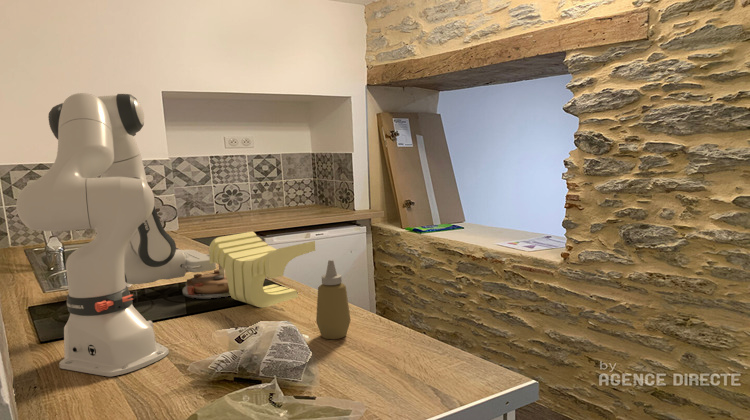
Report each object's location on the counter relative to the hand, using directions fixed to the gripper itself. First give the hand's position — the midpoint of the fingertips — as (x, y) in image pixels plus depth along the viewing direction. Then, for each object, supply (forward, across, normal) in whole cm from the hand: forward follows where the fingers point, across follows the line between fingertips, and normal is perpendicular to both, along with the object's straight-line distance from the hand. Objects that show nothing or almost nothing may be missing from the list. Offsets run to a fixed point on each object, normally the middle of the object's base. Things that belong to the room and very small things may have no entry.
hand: (218, 256), depth 169 cm
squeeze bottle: (+1, -65, +9) cm, 66 cm away
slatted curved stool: (+2, -27, +9) cm, 29 cm away
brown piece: (-3, -6, +8) cm, 10 cm away
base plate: (-3, -6, +9) cm, 11 cm away
